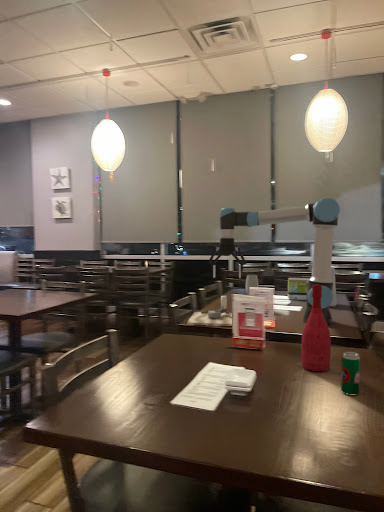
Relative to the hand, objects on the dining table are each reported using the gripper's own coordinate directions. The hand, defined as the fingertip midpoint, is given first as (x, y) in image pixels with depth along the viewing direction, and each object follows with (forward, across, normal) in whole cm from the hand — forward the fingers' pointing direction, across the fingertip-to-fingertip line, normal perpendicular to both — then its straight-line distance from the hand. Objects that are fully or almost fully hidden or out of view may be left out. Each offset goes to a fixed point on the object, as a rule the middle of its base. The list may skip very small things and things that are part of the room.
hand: (227, 277), depth 202 cm
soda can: (+24, -46, +82) cm, 97 cm away
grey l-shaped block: (+22, +5, -7) cm, 24 cm away
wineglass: (+24, -12, -39) cm, 47 cm away
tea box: (+24, -44, -79) cm, 93 cm away
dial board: (+24, +7, -3) cm, 25 cm away
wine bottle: (+24, -38, +62) cm, 77 cm away
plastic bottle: (+24, -57, -59) cm, 86 cm away
